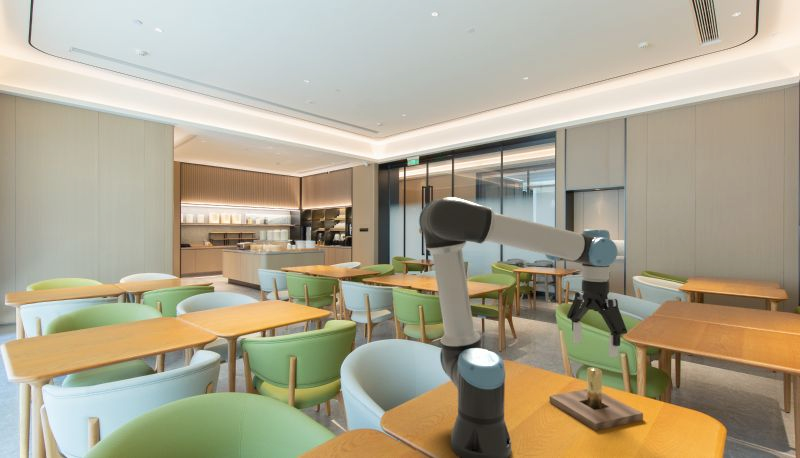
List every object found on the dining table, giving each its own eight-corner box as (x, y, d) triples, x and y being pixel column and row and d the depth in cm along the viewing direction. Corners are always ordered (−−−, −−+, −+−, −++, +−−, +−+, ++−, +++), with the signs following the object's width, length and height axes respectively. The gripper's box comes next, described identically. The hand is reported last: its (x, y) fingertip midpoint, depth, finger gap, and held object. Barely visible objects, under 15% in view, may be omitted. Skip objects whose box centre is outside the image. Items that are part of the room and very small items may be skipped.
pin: (594, 413, 114) (595, 372, 114) (584, 407, 118) (584, 368, 118) (604, 410, 115) (605, 371, 115) (593, 405, 119) (594, 366, 119)
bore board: (595, 430, 105) (595, 423, 105) (549, 401, 122) (549, 395, 122) (642, 419, 111) (643, 413, 111) (592, 393, 128) (592, 388, 128)
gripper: (642, 285, 106) (641, 361, 106) (574, 274, 129) (573, 336, 130) (622, 286, 103) (621, 364, 103) (556, 275, 127) (555, 338, 127)
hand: (594, 349), depth 116 cm, fingers open, 13 cm apart
